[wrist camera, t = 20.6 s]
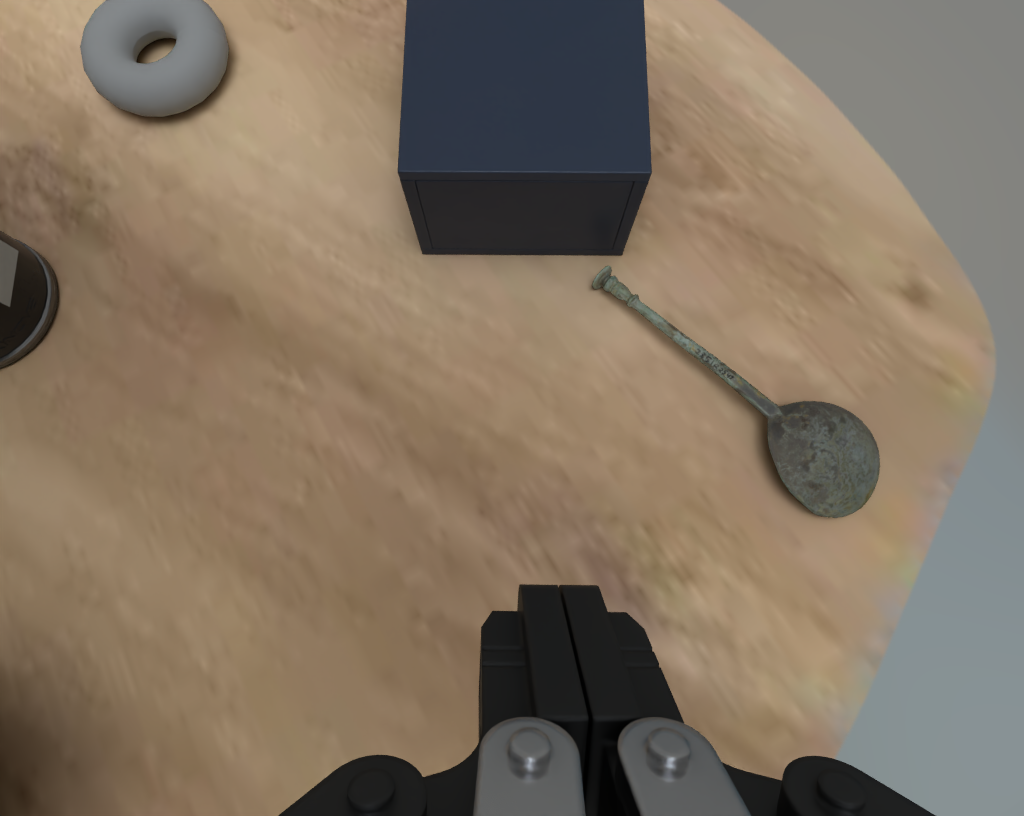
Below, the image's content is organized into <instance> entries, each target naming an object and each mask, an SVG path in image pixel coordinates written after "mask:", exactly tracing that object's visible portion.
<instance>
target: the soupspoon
mask: <svg viewBox="0 0 1024 816" xmlns="http://www.w3.org/2000/svg"><path fill="white" fill-rule="evenodd" d="M611 271H612V270H611V266H606V267H605V268H604V269H602V270H601V271H600V273H599V274H598V275H597V276H596V278H595V279H594V281H593V284H592V286H593V287H594V288H595V289H599V288H600V287H602V286H603V289H604V290H605V291H606V292H611V294H613V295H614V296H615V297H617V298H618V299H620V300H624V301H626V303H627V306H628V307H633V308H634V309H636V310H637V311H638V312H639V313H640V314H641V315H643V316H644V317H645V318H646V319H648V320H649V321H650V322H651V323H653V324H654V325H655V326H656V327H657V328H659V329H660V330H661V331H662V332H663V333H665V334H666V335H667V336H668V337H670V338H671V339H672V340H673V341H675V342H676V343H677V344H678V345H680V346H681V347H682V348H683V349H685V350H686V351H687V352H689V353H690V354H691V355H692V356H694V357H695V358H696V359H698V360H699V361H700V362H701V363H703V364H704V365H705V366H707V367H708V368H709V369H710V370H712V371H713V372H714V373H715V374H717V375H718V376H719V377H720V378H722V379H723V380H724V381H725V382H726V383H727V384H729V385H730V386H731V387H732V388H733V389H734V390H736V391H737V392H738V393H739V394H740V395H741V396H742V397H744V398H745V399H746V400H747V401H748V402H749V403H751V404H752V405H753V406H754V407H755V408H756V409H757V410H759V411H760V412H761V413H762V414H763V415H764V416H765V417H766V418H767V419H768V432H767V437H768V445H769V449H770V453H771V455H772V458H773V461H774V463H775V466H776V469H777V471H778V474H779V476H780V478H781V479H782V481H783V483H784V484H785V485H786V487H787V489H788V490H789V491H790V493H791V494H792V495H793V496H795V497H796V499H798V500H799V501H800V502H801V503H802V504H803V505H804V506H805V507H807V508H808V509H809V510H810V511H811V512H813V513H814V514H816V515H819V516H824V517H833V518H837V517H844V516H847V515H849V514H852V513H854V512H855V511H857V510H858V509H860V508H862V507H863V505H865V503H866V502H867V501H868V499H869V498H870V496H871V495H872V493H873V491H874V489H875V486H876V483H877V480H878V476H879V468H880V458H879V451H878V447H877V444H876V441H875V439H874V437H873V435H872V433H871V432H870V430H869V429H868V428H867V427H866V425H865V424H864V423H863V422H862V421H861V420H860V419H859V418H857V417H856V416H855V415H854V414H852V413H851V412H849V411H847V410H845V409H843V408H841V407H839V406H836V405H833V404H830V403H824V402H816V401H803V402H796V403H792V404H788V405H784V406H781V407H779V406H778V405H777V404H774V403H773V402H772V401H771V400H769V399H768V398H767V397H766V396H765V395H763V394H762V393H761V392H759V391H758V390H757V389H756V388H755V387H753V386H752V385H751V384H749V383H748V382H747V381H746V380H744V379H743V378H742V377H741V376H739V375H738V374H737V373H736V372H735V371H733V370H732V369H730V368H729V367H728V366H726V365H725V364H724V363H723V362H721V361H720V360H718V358H716V357H715V356H713V355H712V354H711V353H709V352H708V351H706V350H705V349H704V348H703V347H701V346H699V345H698V344H697V343H695V342H694V341H693V340H692V339H690V338H689V337H687V336H686V335H685V334H683V333H682V332H680V331H679V330H678V329H677V328H675V327H674V326H673V325H671V324H670V323H669V322H667V321H666V320H665V319H664V318H662V317H661V316H660V315H658V314H657V313H656V312H654V311H653V310H652V309H650V308H649V307H648V306H646V305H645V304H643V303H642V302H641V301H640V300H639V296H638V295H636V294H635V295H633V294H631V292H630V291H629V289H628V288H627V287H626V286H625V285H624V284H623V283H621V282H619V281H618V279H617V277H616V276H610V275H611Z"/></svg>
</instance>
